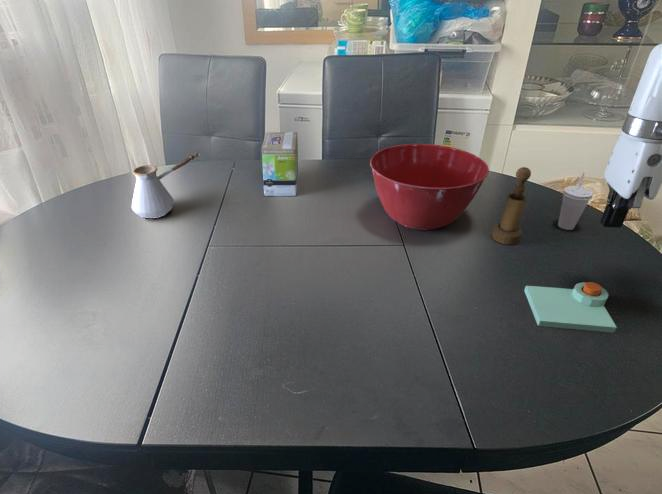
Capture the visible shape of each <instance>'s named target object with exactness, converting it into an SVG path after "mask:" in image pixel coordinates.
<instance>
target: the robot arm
mask: <svg viewBox="0 0 662 494" xmlns="http://www.w3.org/2000/svg"><path fill="white" fill-rule="evenodd" d="M603 177H604V180H605V181H606V184H607V186H608V189H609V190H608V194H607V197H606V205H605V207H604V209H603V213H602V215H601V216H600V217H601V218H600V220H599V223H600V224H601V225H602V227H603V228H621V227H623V225H624V222H625V220H626V218H627V215H628V212H629V211H630V210H632V209H641V207H642V204H643V201H644V197H645V199H647V200H650V201H651V200H654V199H655V198H656V197H657V195H658V194H659V191H660V189H661V187H662V42H661V43H659V44H657V45H655V46H654V47H653V49H652V50H651V51H650V53H649V55H648V57H647V60H646V63H645V65H644V69H643V70H642V74H641V77H640V79H639V82H638V84H637V87H636V90H635V92H634V95H633V98H632V101H631V103H630V106H629V109H628V111H627V114H626V116H625V119H624V122H623V125H622V127H621V130H620V135H619V137H618V139H617V141H616V144H615V146H614V148H613V150H612V152H611V154H610V157H609V159H608V161H607V165H606V168H605V170H604V175H603Z"/></svg>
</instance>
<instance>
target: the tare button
mask: <svg viewBox="0 0 662 494" xmlns="http://www.w3.org/2000/svg"><path fill="white" fill-rule="evenodd" d="M585 283H586V284H585V286H584V288H583V292H584V293H585V294H587V295H590V296H599V294H600V292H601V289H602V288H603V287H602V285H600V284H598V283H597V282H593V281H587V282H585Z"/></svg>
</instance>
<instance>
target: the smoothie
mask: <svg viewBox="0 0 662 494" xmlns="http://www.w3.org/2000/svg"><path fill="white" fill-rule="evenodd" d="M584 176H585V172H581V174H580V177H579V180H578V183H577V185H568V186H565V187H564V188H563V191H562V194H563V196H562V202H561V206H560V212H559V216H558V217H559V218H558V222H557V226H558V227H559V228H560V229H562V230H567V231H572V230H574V229H575V227H576V225H577V223H578V222H579V220H580V218H581V216H582V214H583V213H584V211H585V209H586V207H587V206H588V204H589V202H590V200H592V199H593V197H594V192H593V191H592V190H591V189H589V188H587V187H584V186H581V184H582V181H583V179H584Z"/></svg>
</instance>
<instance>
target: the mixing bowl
mask: <svg viewBox="0 0 662 494" xmlns="http://www.w3.org/2000/svg"><path fill="white" fill-rule="evenodd" d="M369 165H370V168H371V171H372V176H373V181H374V185H375V190H376V192H377V195H378V197H379V201H380V203H381V205H382V208H383V209H384V211H385V213H386V214H387V215H388V216H389V217H390V218H391V219H392V220H393V221H395V222H397V223H398V224H400V225H401V226H403V227H404V228H405V227H406V228H408V229H412V230H417V231H432V230H436V229H439V228H443V227H446V226H448V225H450V224H451V223H453V222H455V221H456V220H457V219H458V218H459V217H460V216H461V215H462V214H463V212H465V210H467V208H468V207H469V205H470V204H471V203H472V201H473V199H475V196H476V195H477V193H478V192H479V190H480V188H481V186H482V185H483V182H484V181H485V179H486V178H487V177H488V175H489V173H490V169H489V165H488V164H487V163H486V162H485V160H483V159H482V158H480V157H479V156H477V155H475V154H474V153H471V152H468V151H466V150H463V149H461V148H457V147H452V146H446V145H440V144H432V143H406V144H398V145H391V146H389V147H385V148H382V149H380V150H378V151H376V152H375V153H374V154H373V155H372V156H371V158H370V161H369Z"/></svg>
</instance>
